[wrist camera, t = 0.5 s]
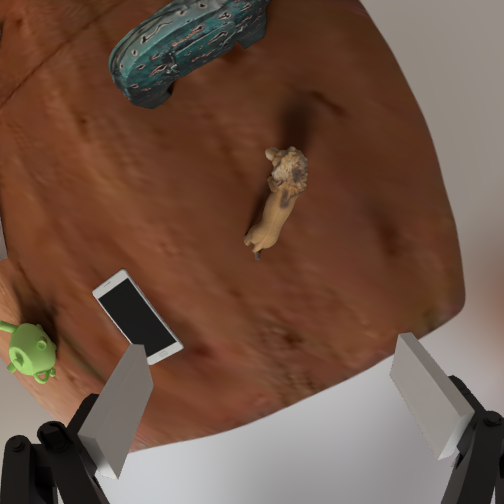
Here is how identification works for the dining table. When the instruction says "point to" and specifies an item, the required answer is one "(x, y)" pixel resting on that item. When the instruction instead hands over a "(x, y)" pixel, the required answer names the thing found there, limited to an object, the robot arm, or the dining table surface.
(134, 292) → the smartphone
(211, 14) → the teal arched figure
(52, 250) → the dining table surface
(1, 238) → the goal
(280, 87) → the dining table surface
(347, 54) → the dining table surface
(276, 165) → the lion figurine
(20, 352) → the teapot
